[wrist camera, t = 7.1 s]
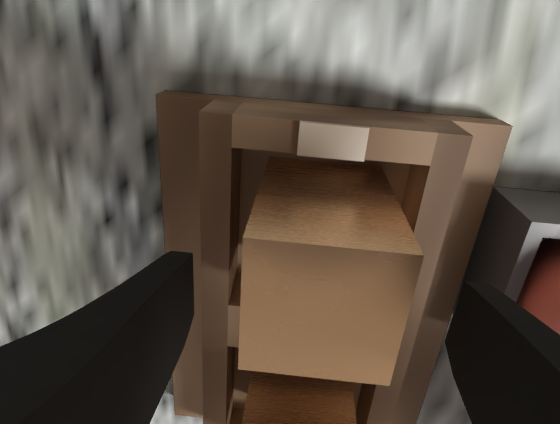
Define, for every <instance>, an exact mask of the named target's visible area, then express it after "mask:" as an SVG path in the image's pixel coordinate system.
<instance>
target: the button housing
mask: <svg viewBox="0 0 560 424" xmlns="http://www.w3.org/2000/svg"><path fill="white" fill-rule="evenodd" d="M542 238H554V239H560V193H557V192H546V191H535V190H525V189H514V188H503V187H493V188H492V191H491V194H490V197H489V200H488V203H487V206H486V210H485V213H484V216H483V219H482V222H481V225H480V228H479V231H478V234H477V237H476V240H475V243H474V246H473V250H472V253H471V256H470V259H469V262H468V265H467V268H466V271H465V274H464V277H463V280H462V283H461V286H460V290H459V293H458V296H457V299H456V302H455V305H454V308H453V311H452V312H453V314H454V312H455V309H456V306H457V303H458V300H459V297H460V294H461V290H462V287H463V284H464V281H467V282H477V283H487V284H490V285H491V286H493V287H495V288H496V289H498V290H499V291H501V292H502V293H503V294H505V295H506V296H508V297H509V298H510V299H512V300H513V301H515V302H517V299H518V297H519V294H520V292H521V289H522V287H523V284H524V282H525V279H526V277H527V275H528V272H529V270H530V267H531V265H532V262H533V260H534V257H535V255H536V252H537V250H538V247H539V245H540V243H541V240H542Z"/></svg>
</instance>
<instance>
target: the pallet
mask: <svg viewBox="0 0 560 424" xmlns="http://www.w3.org/2000/svg"><path fill="white" fill-rule="evenodd" d="M156 108H157V124H158V141H159V158H160V175H161V192H162V208H163V225H164V242H165V254H166V253H168V252H169V251H179V252H189V253H193V277H194V317H193V320H192V323H191V327H190V330H189V333H188V337H187V340H186V343H185V346H184V348H183V351H182V353H181V355H180V358H179V360H178V362H177V364H176V366H175V369H174V371H173V373H172V376H173V393H174V410H175V415H183V416H192V417H200V418H203V424H242V420H243V414H244V409H245V403H246V397H247V392H248V386H249V380H250V375H251V371H249V370H240V369H238V354H239V325H240V297H241V269H242V241H243V235H244V232H245V229H246V226H247V223H248V220H249V217H250V213H251V210H252V207H253V204H254V201H255V198H256V195H257V192H258V189H259V186H260V183H261V180H262V177H263V174H264V170H265V167H266V164H267V161H268V158H269V157H280V158H291V159H302V160H313V161H324V162H335V163H346V164H356V165H367V166H378V167H382V169H383V171H384V173H385V175H386V177H387V179H388V181H389V184H390V186H391V188H392V190H393V192H394V194H395V196H396V198H397V200H398V202H399V204H400V206H401V208H402V211H403V213H404V215H405V217H406V219H407V221H408V223H409V225H410V227H411V229H412V231H413V233H414V235H415V238H416V240H417V242H418V244H419V246H420V248H421V250H422V252H423V254H424V258H423V262H422V266H421V269H420V273H419V277H418V281H417V284H416V288H415V292H414V296H413V300H412V303H411V307H410V311H409V315H408V318H407V322H406V326H405V330H404V334H403V337H402V341H401V345H400V349H399V352H398V356H397V360H396V364H395V367H394V371H393V375H392V379H391V383H390V386H384V385H375V384H366V383H357V382H352V386H353V395H354V404H355V413H356V422H357V424H416V422H417V419H418V416H419V413H420V410H421V406H422V403H423V400H424V397H425V394H426V391H427V388H428V385H429V382H430V379H431V376H432V373H433V370H434V366H435V363H436V360H437V357H438V354H439V351H440V348H441V345H442V342H443V339H444V336H445V333H446V330H447V326H448V323H449V320H450V317H451V314H452V311H453V308H454V305H455V302H456V299H457V296H458V293H459V290H460V286H461V283H462V280H463V277H464V274H465V271H466V268H467V265H468V262H469V259H470V256H471V253H472V250H473V246H474V243H475V240H476V237H477V234H478V231H479V228H480V225H481V222H482V219H483V216H484V213H485V210H486V206H487V203H488V200H489V197H490V194H491V191H492V188H493V185H494V182H495V179H496V176H497V173H498V170H499V166H500V163H501V160H502V157H503V154H504V151H505V148H506V145H507V142H508V139H509V136H510V133H511V130H512V126H511V125H509V124H507V123H506V122H504V121H502V120H499V119H487V118H476V117H465V116H453V115H442V114H430V113H419V112H407V111H396V110H385V109H373V108H362V107H350V106H339V105H327V104H316V103H305V102H293V101H282V100H270V99H259V98H247V97H236V96H225V95H213V94H202V93H190V92H179V91H167V90H165V91H163V92H161V93H158V94H156Z"/></svg>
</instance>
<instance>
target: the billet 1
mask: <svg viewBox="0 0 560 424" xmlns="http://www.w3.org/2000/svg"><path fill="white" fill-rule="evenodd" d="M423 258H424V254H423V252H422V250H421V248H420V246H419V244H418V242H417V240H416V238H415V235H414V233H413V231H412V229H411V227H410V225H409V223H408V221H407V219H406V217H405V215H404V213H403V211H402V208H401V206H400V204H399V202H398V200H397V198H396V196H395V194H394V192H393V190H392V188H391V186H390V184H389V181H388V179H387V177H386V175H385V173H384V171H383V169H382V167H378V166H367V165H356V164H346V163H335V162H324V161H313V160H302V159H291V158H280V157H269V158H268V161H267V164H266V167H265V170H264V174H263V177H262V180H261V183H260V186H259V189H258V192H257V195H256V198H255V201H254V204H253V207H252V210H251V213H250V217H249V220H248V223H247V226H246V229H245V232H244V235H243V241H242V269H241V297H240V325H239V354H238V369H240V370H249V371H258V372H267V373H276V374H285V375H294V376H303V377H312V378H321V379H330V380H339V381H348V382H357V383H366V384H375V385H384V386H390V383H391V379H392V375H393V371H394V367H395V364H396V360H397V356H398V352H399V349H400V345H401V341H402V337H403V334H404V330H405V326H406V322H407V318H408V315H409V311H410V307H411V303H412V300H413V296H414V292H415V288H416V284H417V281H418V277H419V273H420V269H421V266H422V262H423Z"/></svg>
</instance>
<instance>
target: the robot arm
mask: <svg viewBox="0 0 560 424" xmlns="http://www.w3.org/2000/svg"><path fill="white" fill-rule="evenodd" d="M193 317H194V277H193V253H189V252H179V251H169V252H168V253H166V254H164V255H163V256H161V257H160V258H159V259H157V260H156V261H154V262H153V263H151V264H150V265H148V266H147V267H145V268H144V269H143V270H141V271H140V272H138V273H137V274H135V275H134V276H132V277H131V278H129V279H128V280H126V281H125V282H123V283H122V284H120V285H119V286H117V287H116V288H114V289H112V290H111V291H109V292H107V293H106V294H104V295H102V296H101V297H99V298H97V299H96V300H94V301H92V302H91V303H89V304H87V305H86V306H84V307H82V308H81V309H79V310H77V311H75V312H73V313H72V314H70V315H68V316H66V317H64V318H62V319H60V320H58V321H56V322H54V323H52V324H50V325H48V326H46V327H44V328H42V329H40V330H38V331H36V332H33V333H31V334H29V335H27V336H24V337H22V338H20V339H17V340H15V341H13V342H10V343H8V344H6V345H3V346H1V347H0V424H150V421H151V419H152V417H153V415H154V413H155V410H156V408H157V406H158V404H159V402H160V399H161V397H162V395H163V393H164V391H165V389H166V386H167V384H168V382H169V380H170V378H171V375H172V373H173V371H174V369H175V366H176V364H177V362H178V360H179V358H180V355H181V353H182V351H183V348H184V346H185V343H186V340H187V337H188V333H189V330H190V327H191V323H192V320H193ZM445 344H446V348H447V352H448V357H449V361H450V365H451V369H452V372H453V376H454V379H455V382H456V384H457V387H458V390H459V392H460V395H461V397H462V400H463V402H464V405H465V407H466V410H467V412H468V415H469V417H470V420H471V422H472V424H560V335H559V334H558V333H557V332H555V331H554V330H552V329H551V328H550V327H548V326H547V325H546V324H544V323H543V322H542V321H540V320H539V319H538V318H536V317H535V316H534V315H532V314H531V313H529V312H528V311H527V310H525V309H524V308H523V307H521V306H520V305H519V304H517V303H516V302H515V301H513V300H512V299H510V298H509V297H508V296H506V295H505V294H503V293H502V292H501V291H499V290H498V289H496V288H495V287H493V286H491V285H490V284H487V283H477V282H467V281H464V284H463V287H462V290H461V294H460V297H459V300H458V303H457V306H456V309H455V312H454V315H453V318H452V321H451V324H450V327H449V330H448V333H447V336H446V339H445Z"/></svg>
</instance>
